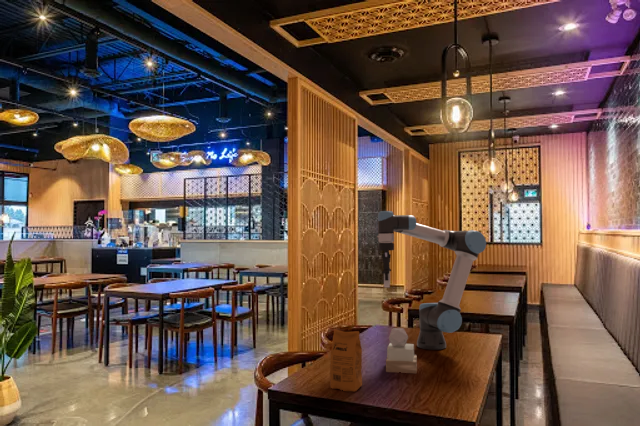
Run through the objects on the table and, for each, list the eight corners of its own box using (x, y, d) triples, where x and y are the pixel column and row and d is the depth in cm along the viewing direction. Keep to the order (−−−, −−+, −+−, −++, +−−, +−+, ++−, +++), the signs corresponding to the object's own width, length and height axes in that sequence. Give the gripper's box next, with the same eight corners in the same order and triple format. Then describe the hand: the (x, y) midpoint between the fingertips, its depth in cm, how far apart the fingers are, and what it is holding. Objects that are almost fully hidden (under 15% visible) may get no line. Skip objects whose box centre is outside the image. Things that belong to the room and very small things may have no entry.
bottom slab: (388, 364, 206) (387, 353, 207) (416, 366, 204) (416, 354, 204) (386, 372, 194) (385, 361, 194) (416, 374, 191) (416, 362, 191)
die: (402, 351, 194) (413, 331, 197) (385, 340, 196) (395, 321, 199) (401, 353, 201) (411, 334, 204) (384, 343, 203) (394, 324, 206)
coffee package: (337, 381, 181) (337, 326, 183) (365, 386, 175) (364, 329, 177) (325, 388, 173) (325, 331, 174) (354, 393, 167) (353, 334, 168)
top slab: (389, 353, 206) (389, 342, 207) (414, 355, 204) (413, 344, 204) (387, 360, 196) (387, 348, 196) (413, 361, 193) (412, 349, 193)
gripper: (379, 242, 232) (380, 283, 231) (377, 242, 208) (378, 288, 207) (394, 242, 231) (395, 283, 230) (393, 242, 207) (394, 288, 205)
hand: (387, 286), depth 218 cm, fingers open, 13 cm apart
